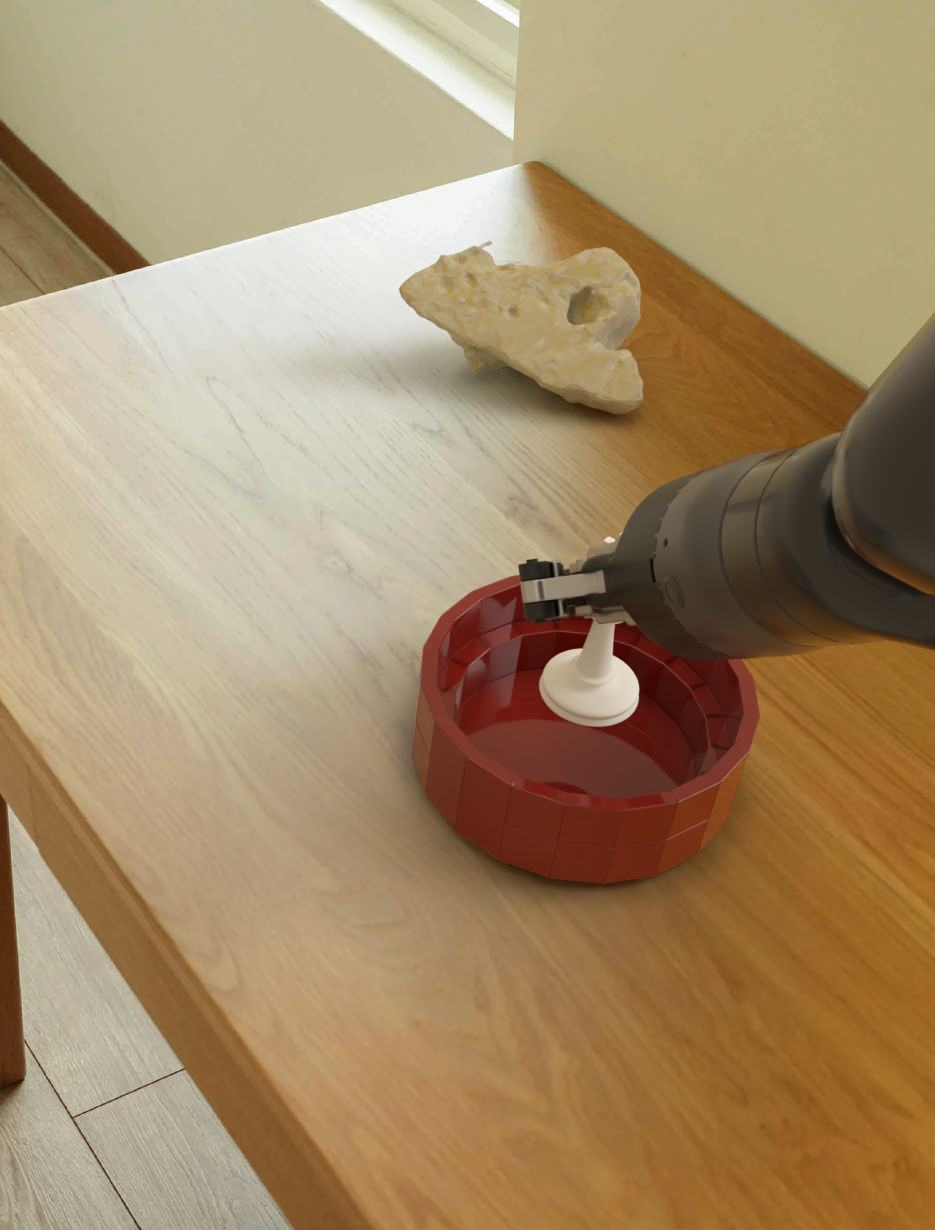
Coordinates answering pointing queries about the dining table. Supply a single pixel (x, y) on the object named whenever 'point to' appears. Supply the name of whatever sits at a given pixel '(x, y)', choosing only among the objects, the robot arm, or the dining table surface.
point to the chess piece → (591, 681)
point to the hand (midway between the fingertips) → (589, 590)
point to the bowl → (575, 745)
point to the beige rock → (540, 320)
